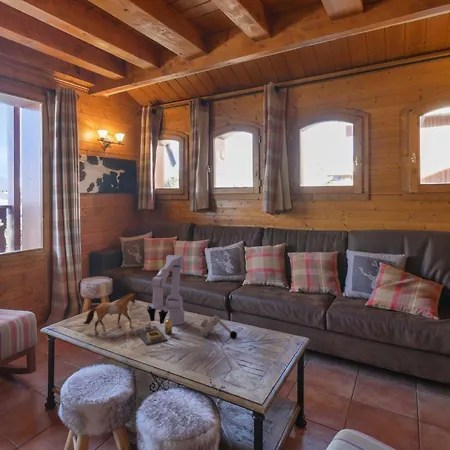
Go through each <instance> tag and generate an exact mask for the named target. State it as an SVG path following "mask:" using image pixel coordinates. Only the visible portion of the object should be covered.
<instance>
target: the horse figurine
mask: <svg viewBox="0 0 450 450" xmlns="http://www.w3.org/2000/svg"><path fill="white" fill-rule="evenodd" d="M136 296H137V293H136V292H130V293H127V294H125V295H124V296H122V297H121V298H120V299H118V300H117V301H116V302H108V301H107V302H106V301H105V302H103V303H100V304H98V305H97V306H95V307H93V308H92V309H91V310H89V312H88V314H87V315H86V320H85V321H83V323H82V324H84V325H90V324H91V322H92V321H93V319H94V317H95V313H96V316H97V319H96V321H95V323H94V329H93V330H94V334H97V333H98V334H99V332H98V329H97V326H98V325H99V323H100V325H101V326H102V330H105V328H106V326H105V324H104V323H103V318H104V317H105V316H106V315H118V316H117V326H118V328H122V325H121V324H120V320H121V316H122V315H123V316H124V317H125V318H127V319H128V321H129V327H130V328H133V327H132V325H133V323H132V320H131V317H130V315H129V313H128V311H129V308H128V305H129V303H130V301H131V303H132V304H133V305H135V304H136V298H137V297H136Z"/></svg>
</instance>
